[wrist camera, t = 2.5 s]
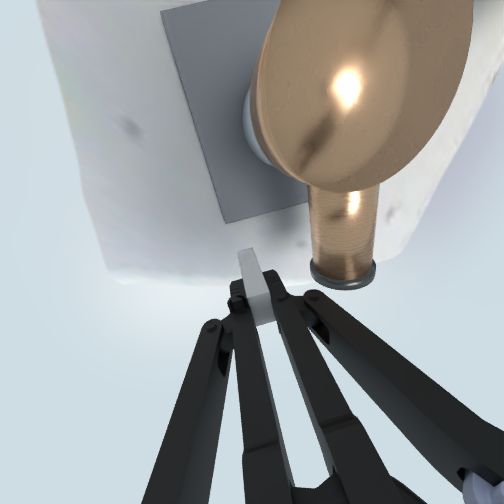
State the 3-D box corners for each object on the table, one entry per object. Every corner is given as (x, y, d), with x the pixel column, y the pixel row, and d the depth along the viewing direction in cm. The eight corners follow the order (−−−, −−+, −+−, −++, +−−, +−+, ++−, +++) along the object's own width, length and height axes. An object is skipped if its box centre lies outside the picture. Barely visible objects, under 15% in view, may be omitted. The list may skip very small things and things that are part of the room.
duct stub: (404, -39, 22) (551, -187, 12) (382, 179, 34) (448, 191, 24) (162, 17, 21) (116, -97, 11) (225, 222, 33) (229, 252, 23)
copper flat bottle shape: (230, 17, 14) (240, -80, 8) (399, -23, 15) (523, -141, 9) (278, 269, 25) (297, 306, 19) (373, 243, 26) (420, 270, 20)
